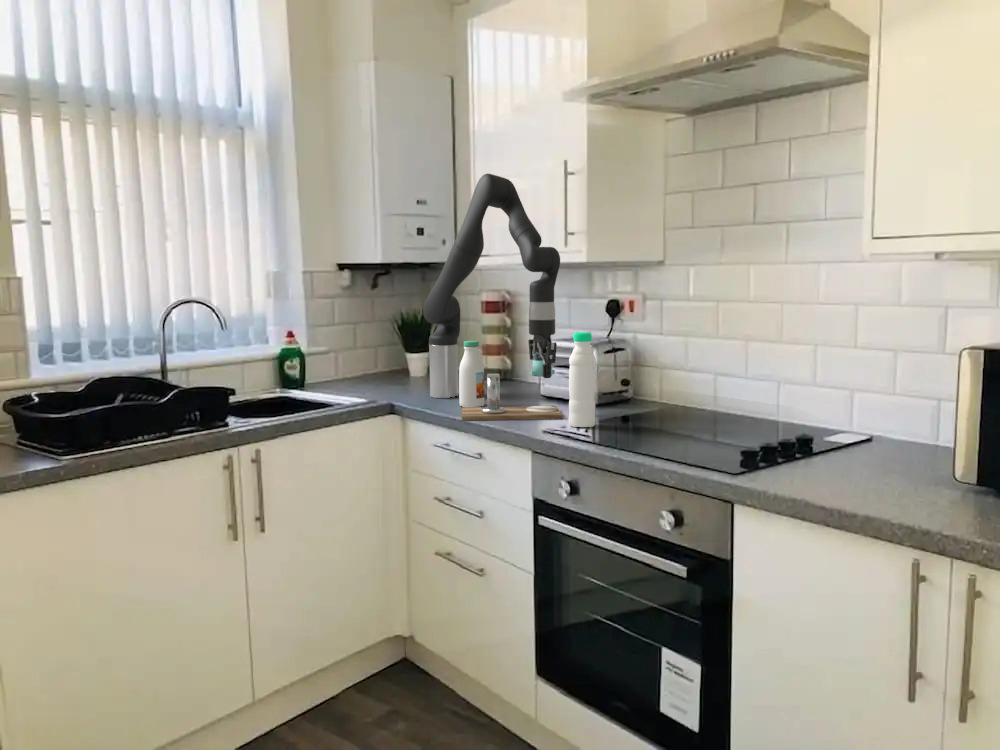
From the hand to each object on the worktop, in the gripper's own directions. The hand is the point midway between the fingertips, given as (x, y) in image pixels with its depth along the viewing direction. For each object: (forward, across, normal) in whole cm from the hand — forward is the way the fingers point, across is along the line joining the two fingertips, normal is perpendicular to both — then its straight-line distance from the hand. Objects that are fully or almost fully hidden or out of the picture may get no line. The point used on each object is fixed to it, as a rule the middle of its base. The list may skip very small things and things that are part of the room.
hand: (542, 376), depth 228 cm
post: (+10, +3, +14) cm, 17 cm away
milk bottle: (+11, +21, +14) cm, 28 cm away
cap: (0, 0, 0) cm, 0 cm away
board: (+11, +2, +9) cm, 14 cm away
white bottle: (+11, -20, -2) cm, 23 cm away
